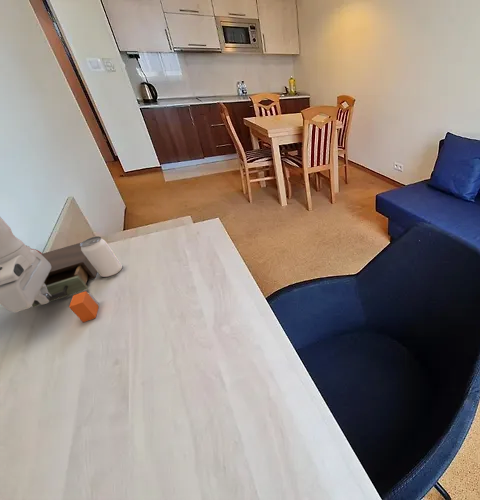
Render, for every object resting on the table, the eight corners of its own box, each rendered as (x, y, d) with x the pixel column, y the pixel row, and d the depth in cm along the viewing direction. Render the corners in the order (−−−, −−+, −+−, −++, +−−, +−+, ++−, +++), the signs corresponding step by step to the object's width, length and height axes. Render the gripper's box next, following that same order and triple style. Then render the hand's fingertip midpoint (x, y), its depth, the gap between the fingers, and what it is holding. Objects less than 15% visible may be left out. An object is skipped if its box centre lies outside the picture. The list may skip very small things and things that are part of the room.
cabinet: (95, 277, 98) (82, 261, 94) (40, 295, 93) (24, 279, 89) (102, 254, 109) (91, 239, 106) (53, 269, 105) (40, 254, 101)
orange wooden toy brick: (83, 322, 81) (68, 306, 78) (87, 307, 86) (74, 291, 83) (95, 317, 82) (82, 302, 79) (99, 302, 87) (87, 287, 84)
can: (104, 268, 102) (82, 239, 95) (125, 263, 103) (105, 233, 96) (98, 280, 97) (74, 249, 90) (120, 274, 98) (99, 243, 91)
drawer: (84, 297, 89) (74, 285, 86) (28, 316, 84) (15, 304, 81) (95, 264, 102) (86, 253, 100) (47, 279, 98) (37, 268, 95)
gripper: (9, 245, 82) (44, 283, 90) (-26, 289, 67) (19, 330, 75) (37, 238, 84) (69, 275, 92) (9, 278, 69) (50, 319, 77)
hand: (47, 300), depth 83 cm, fingers closed
